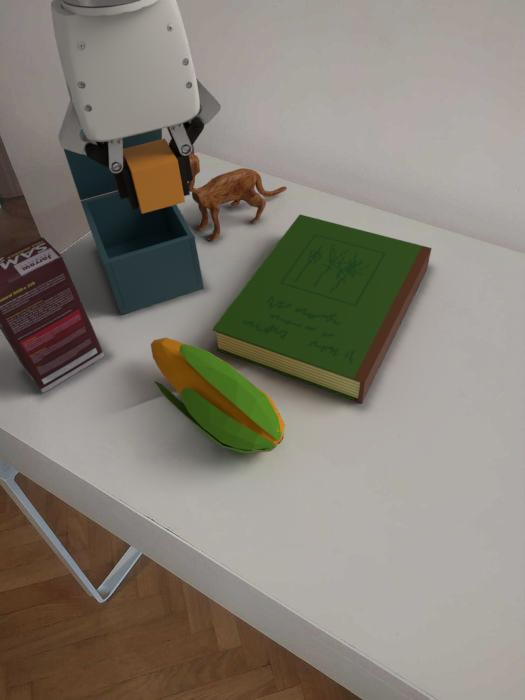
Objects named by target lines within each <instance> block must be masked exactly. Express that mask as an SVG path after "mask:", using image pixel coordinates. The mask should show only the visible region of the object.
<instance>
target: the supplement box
mask: <svg viewBox="0 0 525 700" xmlns="http://www.w3.org/2000/svg"><path fill="white" fill-rule="evenodd" d="M0 331H1V333H2V334H3V336H4V337H5V339H6V341H7V343H8V344H9V346H10V348H11V349H12V351H13V353H14V354H15V356H16V358H17V359H18V361H19V363H20V364H21V366H22V368H23V370H24V371H25V372H26V374H27V375H28V376H29V377H30V379H31V380H32V381H33V382H34V384H35V385H36V386H37V387H38V389H39V390H40V393H42V394H44V393H46V392H48V391H49V390H51V389H52V388H54V387H55V386H58V385H59V384H60V383H62V382H64V381H66V380H67V379H69V378H71V377H73V376H74V375H76V374H77V373H79V372H81V371H82V370H84V369H86V368H87V367H89V366H91V365H92V364H94V363H96V362H97V361H99V360H101V359H103V358H104V357H105V353H104V352H103V348H102V346H101V343H100V341H99V338H98V336H97V334H96V331H95V330H94V326H93V325H92V323H91V320H90V318H89V314H88V312H87V309H85V306H84V304H83V300H82V298H81V297H80V295H79V292H78V290H77V287H76V284H75V283H74V281H73V278H72V276H71V273H70V271H69V269H68V267H67V264H66V261H65V260H64V256H63V255H62V254H61V253H60V252H59V251H58V250H56V249H55V248H54V246H53V245H51V243H49V241H48V240H46V238H44V236H43V237H40V238H37V239H36V240H34V241H31V242H30V243H27V244H25V245H23V246H21V247H19V248H17V249H15V250H13V251H10V252H9V253H7V254H4V255H2V256H1V257H0Z"/></svg>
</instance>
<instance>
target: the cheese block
mask: <svg viewBox="0 0 525 700" xmlns="http://www.w3.org/2000/svg"><path fill="white" fill-rule="evenodd" d="M123 157H124V159H125V161H126V163H127V165H128V168H129V170H130V172H131V176H132V180H133V184H134V187H135V191H136V195H137V199H138V203H139V208H140V210H141V213H142V214H143V213H147V212H151V211H154V210H158V209H162V208H165V207H169V206H172V205H179V204H183V203H186V199H185V196H184V193H183V187H182V182H181V176H180V171H179V166H178V160H177V158H176V157H175V155H174V153H173V152H172V150H171V148H170V146H169V142H168V141H167V140H166V138H162V139H161V140H157V141H153V142H149V143H145V144H141V145H137V146H133V147H129V148H125V149H123Z"/></svg>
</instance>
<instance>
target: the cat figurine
mask: <svg viewBox="0 0 525 700" xmlns="http://www.w3.org/2000/svg"><path fill="white" fill-rule="evenodd" d="M194 147H195V146H194V144H193V145H192V152H191V153H190V154H189V159H190V165H191V171H192V177H193V180H192V181H189V182H188V186H189V192H190V193H191V197H192V200H193V201H194V202H195V203H196V204H197V206H198V209H199V212H200V214H201V219H200V222H199V224H198V225H197V226H196V227H195V229H196V230H197V231H198V232H199V231H204V229H205V228H207V226H208V225H209V214H210V218H211V221H212V223H213V230H212V233H211V235H210V236H208V237H207V240H208V241H209V242H212V241H214V240H216V239H217V238H218V237H219V236H220V233H221V224H220V219H219V214H220V205H223V204H226V203H229V202H230V206H231V207H236V206H238V205H240V203H241V201H243V202H245V203H246V204H248V205H249V206H251V207H252V208H257V209H256V213H255V217H253V218H252V219H251V222H253V223H255V222H257V221H259V220H260V218H261V215H262V214H263V212H264V210H265V208H266V205H267V202H266V200H265V199H264V198H272V197H275V196H277V195H279V194H281V193H283V192H285V191H286V190H287V189H288V187H287V186H281V187H279V188H277V189H274V190H269V191H268V190H265V188H264V186H263V180H262V177H261V174H260V173H259V172H258V171H256V170H254V169H250V168H245V167H243V168H237V169H235V170H231V171H228V172H225V173H222V174H219V175H217V176H215V177H213V178H211V179H210V180H208V182H207V183H205V184H204V185H202V186H199V187H197V188H195V183H196V176H197V175H198V174H199V173H200V172H201V166H200V165H201V164H200V159H199V156H197V155H196V154H195V148H194ZM255 188H256V189H255ZM256 190H257V191H256ZM263 197H264V198H263ZM208 210H209V212H208Z"/></svg>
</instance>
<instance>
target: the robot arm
mask: <svg viewBox="0 0 525 700" xmlns="http://www.w3.org/2000/svg"><path fill="white" fill-rule="evenodd" d="M50 11H51V20H52V26H53V33H54V38H55V43H56V48H57V52H58V57H59V60H60V64H61V65H60V66H61V69H62V72H63V76H64V80H65V84H66V87H67V92H68V96H69V99H70V100H69V103H68V105H67V109H66V112H65V114H64V117H63V121H62V123H61V126H60V129H59V132H58V137H57V138H58V142H59V144H60V147H61V148H62V149H63V148H64V149H66V150H69V151H72V152H75V153H78V154H81V155H82V154H83V155H87V156H88V157H89V158H90V159H92V160H94V161H96V162H98V163H100V164H102V165H104V166H106V167H108V168H109V169H110V171H111V172H113V176H114V180H115V183H116V187H117V191H118V193H119V196H120V198H121V199H125V198H128V201H129V203H130V205H131V208H132V210H135V209H138V207H139V203H138V199H137V195H136V191H135V187H134V184H133V180H132V176H131V172H130V170H129V168H128V165H127V163H126V161H125V159H124V157H123V138H125V137H129V136H134V135H138V134H142V133H146V132H150V131H154V130H158V129H162V130H163V129H167V131H168V134H169V136H170V140H169V142H168V145H169V146H170V148H171V150H172V152H173V153H174V155H175V157H176V158H177V160H178V166H179V171H180V176H181V182H182V187H183V193H184V197H186V196H189V195H190V194H191V192H190V191H189V186H188V182H189V181H192V180H193V177H192V171H191V165H190V159H189V154H190V153H191V152H192V145H193V146H194V144H195V142H196V141H197V140H198V138H199V137H200V136H201V134H202V133H203V131H204V129H205V126H206V125H207V124H209V123H210V122H211V121H212V120H213V119H214V118H215V116H217V114H218V113H220V111H221V108H222V105H221V104H220V103H219V101H218V100H217V98H215V96H214V95H213V94H212V93H211V92H210V91H209V90H208V88H207V87H206V86H205V85H203V83H202V82H201V81H200V80H199V79H198V78H197V76H196V70H195V67H194V66H195V65H194V61H193V58H192V53H191V48H190V45H189V44H190V43H189V40H188V36H187V32H186V28H185V24H184V21H183V18H182V14H181V10H180V8H179V4H178V1H177V0H52V1H51V2H50ZM81 129H83V131H84V134H85V135H86V137H85V136H84V135H81V134H80V131H81ZM101 142H103V143H101ZM64 149H63V150H64Z"/></svg>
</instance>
